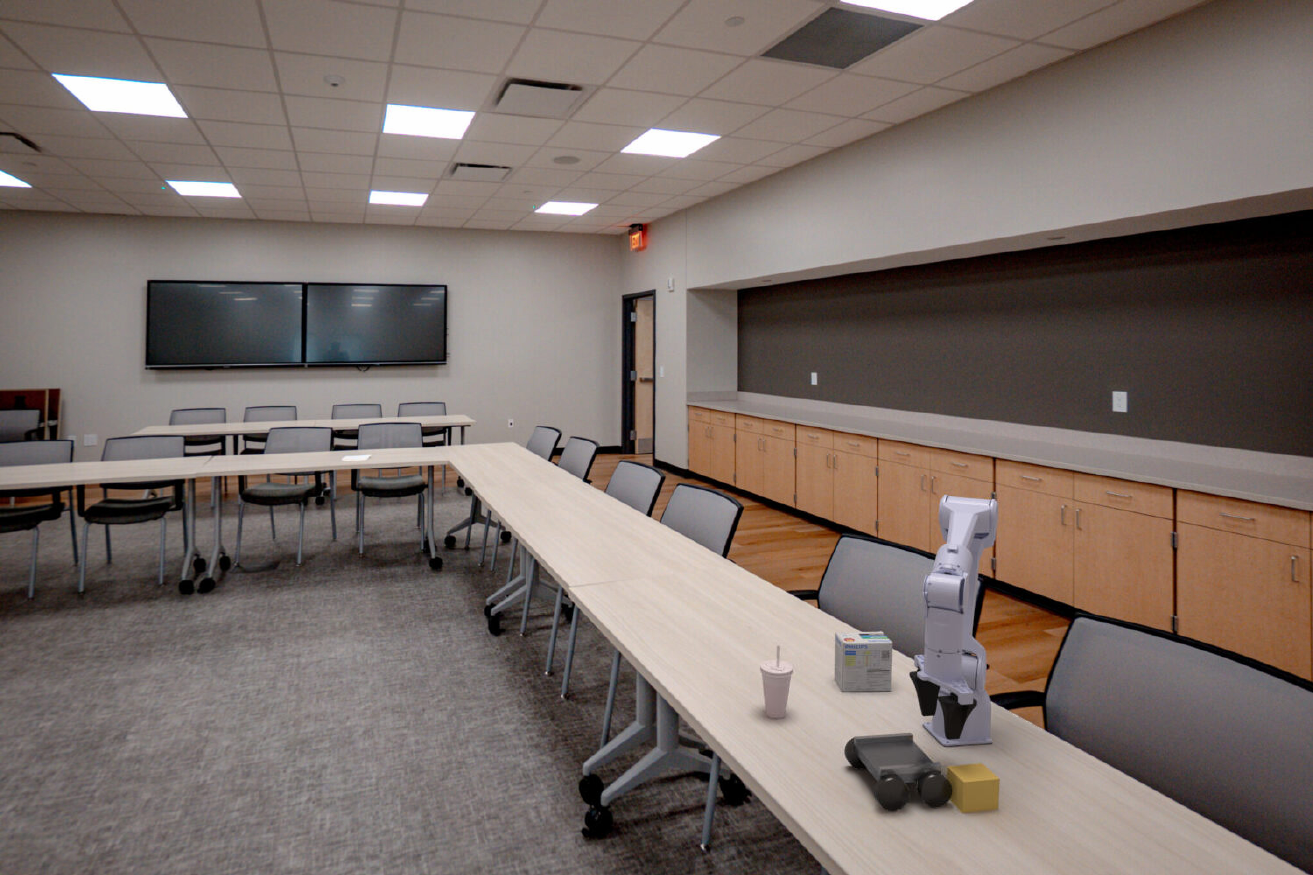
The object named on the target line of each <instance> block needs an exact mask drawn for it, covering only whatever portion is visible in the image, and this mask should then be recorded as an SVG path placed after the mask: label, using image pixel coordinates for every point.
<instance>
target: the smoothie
mask: <svg viewBox="0 0 1313 875" xmlns="http://www.w3.org/2000/svg"><path fill="white" fill-rule="evenodd" d="M780 648H781V647H780V645H779V644H777V645H776V659H767V660H765V661H763V662H761V663H760V665H759V671H760V673H761V679H762V686H763V688H762V689H763V698H764V706H765V714H766V717H769V718H771V719H775V720H776V719H777V720H778V719H783V718H784V717H785V716H786V713H787V706H788V699H789V693H790V692H789V691H790V685H791V679H792V675H793V674H794V666H793V665H792V664H791V663H790V662H788V661H785V660H780V657H781V656H780Z"/></svg>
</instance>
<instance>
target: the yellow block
mask: <svg viewBox="0 0 1313 875" xmlns="http://www.w3.org/2000/svg"><path fill="white" fill-rule="evenodd" d="M946 778H947V779H948V781H949V782H950V783H951V785H952V796H951V798H950V800H949V801H950V803H952V804H953V805H954V806H955V807H956V808H957V809H958V811H959V812H960V813H961V814H968V813H969V814H970V813H977V812H985V811H993V810H994V811H995V810H999V797H1000V781H1001V780H1000V777H998V776H997V775H996V774H995V773H993V771H991V769H989V768H988V767H987V766H986V765H984V763H982V762H979V763H978V762H977V763H967V764H959V765H958V764H957V765H949V766H948V765H947V766H946Z"/></svg>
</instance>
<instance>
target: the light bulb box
mask: <svg viewBox="0 0 1313 875" xmlns="http://www.w3.org/2000/svg"><path fill="white" fill-rule="evenodd" d="M834 639H835V640H834V681H835V682H836V684H837V686H838V688H839V690H840V691H841V693H844V692H850V693H851V692H852V693H853V692H891V691H892V674H893V672H892V671H893V641H892V640H891V639H890V638H889V637H888V636H887V635H886V634H885V633H884V632H883V631H854V632H853V631H852V632H851V631H850V632H847V631H841V632H839V631H835V633H834Z"/></svg>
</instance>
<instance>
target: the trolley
mask: <svg viewBox="0 0 1313 875" xmlns="http://www.w3.org/2000/svg"><path fill="white" fill-rule="evenodd" d="M843 751H844V752H843V754H844V757H845V759H846V761H847V762H848V763H849V765H850V766H851V767H852V768H854V769H855V770H866V769H867V770H868V771H869V773H870V774H871V775H872V776H873V777H874V779H875V781H876V782H875V784H874V788H873V795H874V798H875V800H876V802H877V803H878V804H879V805H880V807H881V808H882V809H883V810H885V811H888V812H897V811H899V810H901V809H903V808H904V807H905V806H906V805H907V803H908V802H909V799H910V790H909V787H908V785H907V784H910V783H916V792H917V795H918V797H919V798H920V799H921V800H922V801H923V803H924V804H925V805H926V806H927V807H930V808H934V809H935V808H936V809H937V808H941V807H943V806H945V805H946V804H947V803H948V802H949V801H950V798H951V796H952V785H951V783H950V782H949V781H948V779H947V776H945V775H944V774H943V773H942V769H943V765H942V763H941V762H940V761H938V762H937V761H935V762H934V761H933V760H932V759H931V758H930V757H929V756H928V755H927V754H926V753H925V751H923V750H922V749H921V748H920V746H919V745H918V744H917V743H916V742H915V741H914V734H913V733H912V732H901V733H887V734H873V735H872V734H871V735H859V736H858V735H857V736H854V737H852V738H851V739H849V741H847V742H846V744H845V746H844V750H843Z"/></svg>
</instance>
